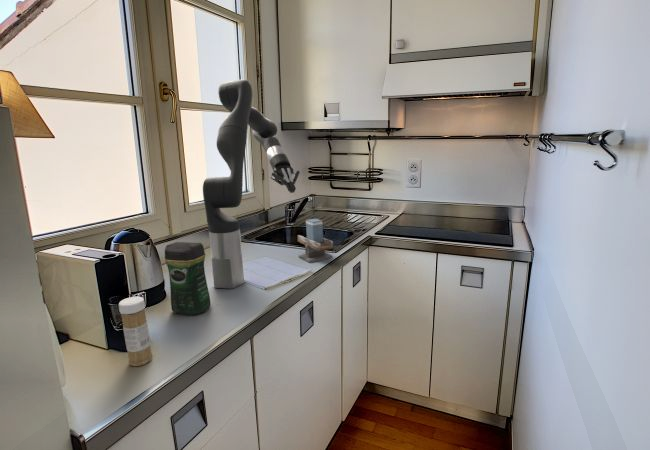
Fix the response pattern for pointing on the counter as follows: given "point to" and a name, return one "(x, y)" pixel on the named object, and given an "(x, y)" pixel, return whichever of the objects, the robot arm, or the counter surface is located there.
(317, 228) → the blue gray lidded container
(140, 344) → the sprinkles bottle
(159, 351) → the counter surface
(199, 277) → the coffee jar
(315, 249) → the brown cleat
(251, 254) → the counter surface
